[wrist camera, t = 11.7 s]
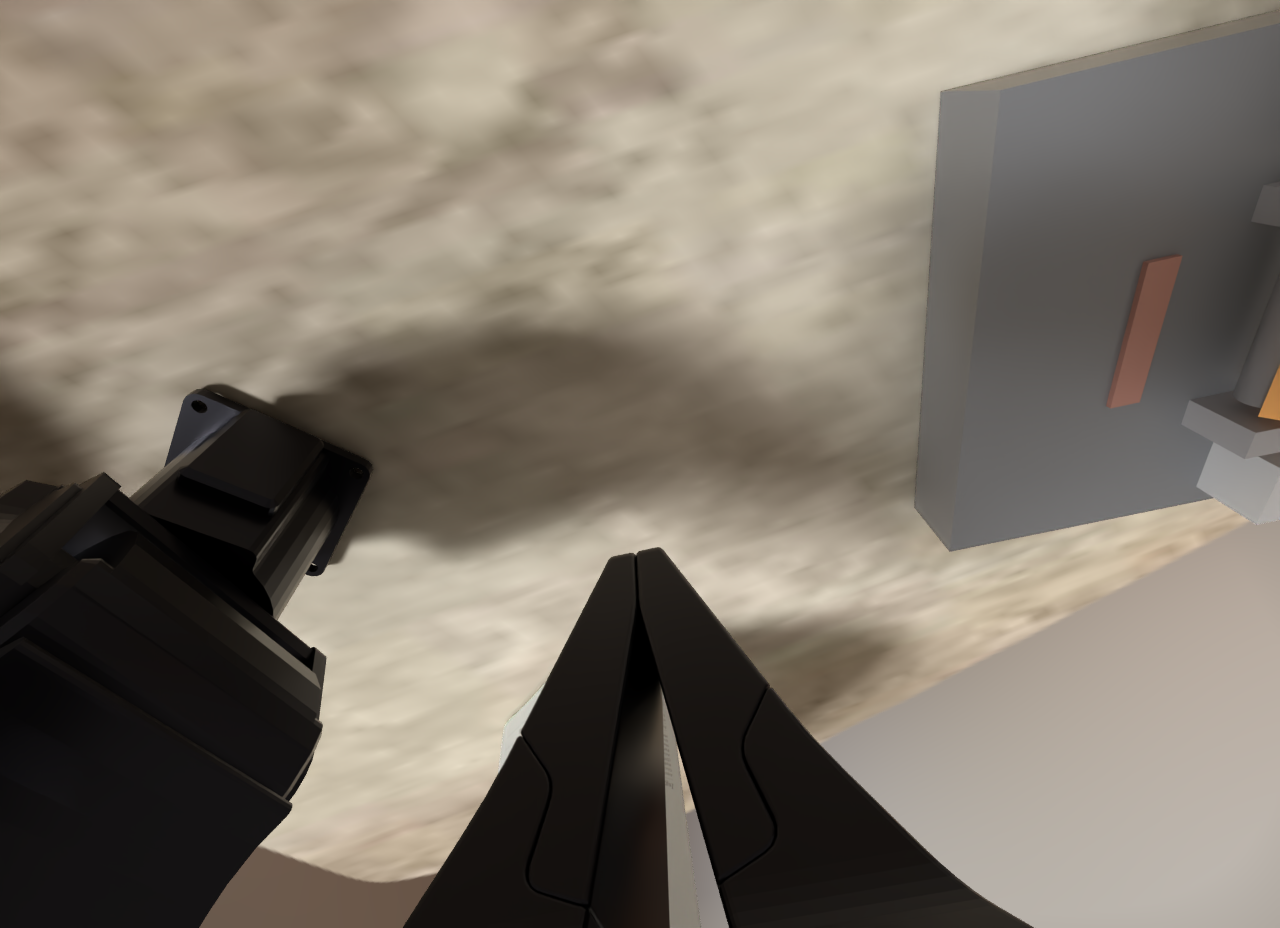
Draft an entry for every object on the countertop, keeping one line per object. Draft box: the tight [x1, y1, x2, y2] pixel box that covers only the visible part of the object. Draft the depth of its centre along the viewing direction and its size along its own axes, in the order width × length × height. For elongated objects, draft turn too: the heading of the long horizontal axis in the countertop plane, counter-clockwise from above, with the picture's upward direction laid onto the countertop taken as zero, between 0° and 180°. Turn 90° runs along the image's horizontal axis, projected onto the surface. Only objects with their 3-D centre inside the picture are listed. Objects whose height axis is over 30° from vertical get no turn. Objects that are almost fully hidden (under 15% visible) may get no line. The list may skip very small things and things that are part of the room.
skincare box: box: [498, 682, 701, 928], centre depth 25 cm, size 8×6×15 cm
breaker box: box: [914, 10, 1280, 551], centre depth 19 cm, size 14×16×5 cm
